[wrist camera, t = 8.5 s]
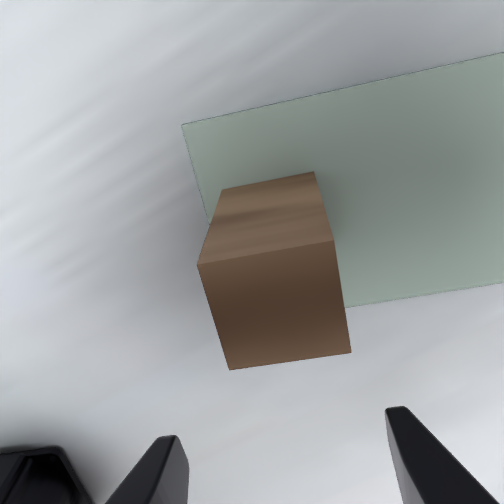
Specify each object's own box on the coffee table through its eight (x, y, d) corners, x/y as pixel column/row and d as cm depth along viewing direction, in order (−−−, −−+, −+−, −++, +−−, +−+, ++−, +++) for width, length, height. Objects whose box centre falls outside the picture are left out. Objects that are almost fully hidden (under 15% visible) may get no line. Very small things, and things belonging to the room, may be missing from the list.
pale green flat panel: (529, 274, 21) (533, 278, 20) (238, 321, 23) (237, 325, 22) (542, 43, 16) (546, 43, 16) (182, 124, 18) (181, 125, 18)
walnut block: (327, 254, 20) (351, 352, 14) (242, 269, 21) (229, 370, 15) (313, 171, 19) (334, 240, 12) (221, 189, 19) (196, 264, 13)
